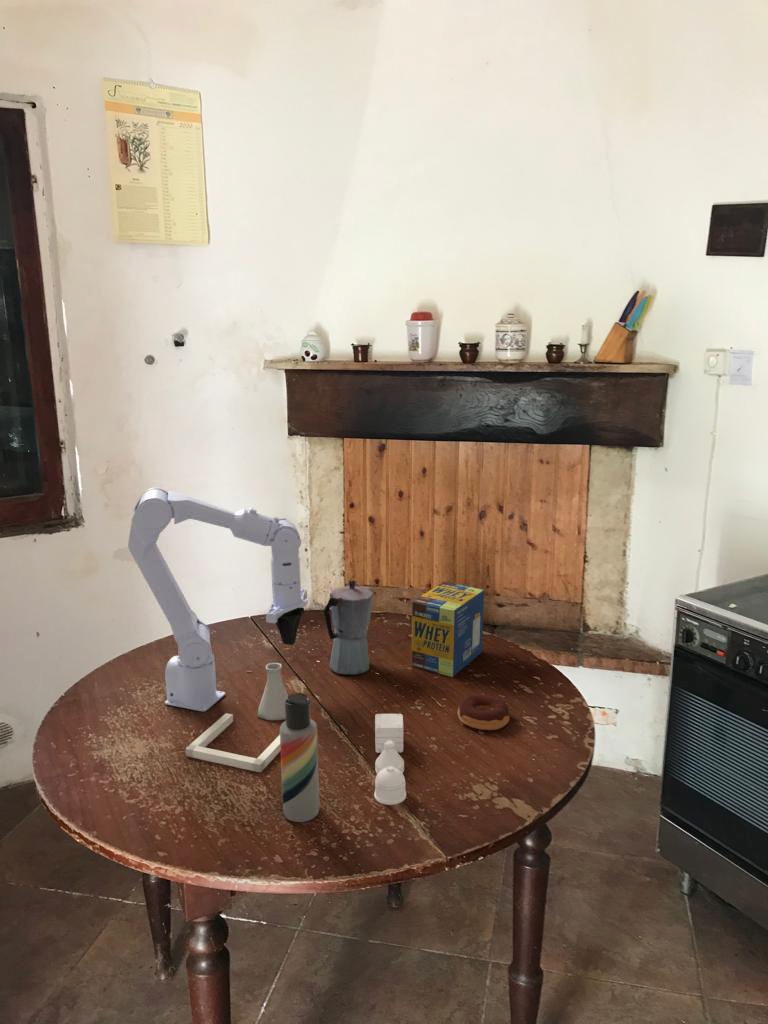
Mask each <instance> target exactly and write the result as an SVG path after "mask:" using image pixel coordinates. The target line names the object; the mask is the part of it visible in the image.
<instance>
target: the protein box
mask: <svg viewBox="0 0 768 1024" xmlns="http://www.w3.org/2000/svg"><path fill="white" fill-rule="evenodd" d="M484 600H485V589H481V588H477V587H472V586H467V585H462V584H458V583H452V582H448V581H443V582H440V583H439V584H438V585H437V586H435V587H432V589H430V590H428V591H427V592H425V593H424V594H422V595H420V596H419V597H417V598H416V599H413V600H412V601H411V667H415V668H417V669H421V670H424V671H425V670H426V671H428V672H432V673H435V674H436V673H437V674H440V675H443V676H448V677H451V678H453V677H454V676H455V675H457V674H458V673H459V672H460V671H461V670H463V669H464V668H465V667H466V666H468V665H469V664H470V663H471V662H472V661H473V660H475V659H476V658H477V657H478V656H479V655H481V654H482V653H483V635H484V634H483V633H484V605H485V604H484V602H485V601H484Z"/></svg>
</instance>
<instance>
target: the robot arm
mask: <svg viewBox="0 0 768 1024" xmlns="http://www.w3.org/2000/svg"><path fill="white" fill-rule="evenodd" d="M173 519H174V521H173V522H174V525H177V524H180V523H182V522H185V521H188V520H194V521H198V522H202V523H206V524H210V525H213V526H218V527H220V528H225V529H229V530H230V531H231V533H232V536H233V537H234V538H238V539H240V540H244V541H247V542H249V543H254V544H256V545H261V546H263V547H271V558H270V571H271V589H272V590H271V591H272V593H271V594H272V600H271V603H270V606H269V609H268V610H267V612H265V622H266V623H270V624H275V625H276V627H277V629H278V632H279V635H280V638H281V641H282V644H283V645H287V646H288V645H289V646H293V645H295V643H296V639H297V634H298V629H299V625H300V622H301V619H302V617H303V615H304V613H305V607H306V606H307V603H308V602H307V601H306V600H307V598H308V590H307V589H305V588H303V589H302V586H301V561H300V559H301V558H300V556H299V554H300V551H299V549H300V547H301V544H302V539H301V535H300V533H299V531H298V529H297V527H296V525H295V524H294V523H293V522H292V521H290V520H288V519H287V518H283V517H282V518H280V517H278V516H273V517H271V516H268V515H264V514H262V513H258V512H257V509H256V508H253V507H249V509H248V510H247V509H245V508H243V509H241V510H238V511H235V512H233V511H230V510H228V509H225V508H222V507H219V506H216V505H213V504H211V503H208V502H205V501H203V500H200V499H197V498H194V497H192V496H188V495H185V494H183V493H180V492H177V491H173V490H168V491H167V490H165V489H163V488H161V487H151V488H149V489H147V490H145V491H144V492H142V494H140V497H139V499H138V501H137V502H136V504H135V506H134V509H133V514H132V516H131V522H130V523H131V524H130V530H129V536H128V537H129V538H128V542H127V543H128V544H127V546H128V550H129V552H130V554H131V556H132V557H133V560H134V561H135V563H136V565H137V566H138V568H139V570H140V572H141V574H142V575H143V578H144V580H145V581H146V584H147V585H148V587H149V588H150V590H151V592H152V594H153V596H154V597H155V600H156V602H157V603H158V605H159V606H160V609H161V610H162V612H163V614H164V616H165V618H166V620H167V622H168V623H169V625H170V627H171V631H172V634H173V637H174V641H175V642H176V644H177V648H178V651H177V653H178V654H177V655H174V656H172V657H171V658H170V659H169V660H168V662H167V664H166V667H165V671H164V673H165V674H164V678H165V689H166V700H165V701H164V704H165V705H168V706H172V707H177V708H182V709H183V708H184V709H188V710H193V711H199V712H207V710H209V709H210V708H211V707H213V706H214V704H216V703H217V702H218V701H220V700H221V699H222V698H223V697H224V696H225V695H226V692H225V691H220V690H217V679H216V664H215V655H214V653H213V652H212V645H211V631H210V630H211V629H210V628H209V626H208V625H207V624H206V623H205V622H203V621H202V620H200V618H198V615H197V614H196V612H194V611H193V610H192V608H191V607H190V605H189V603H188V601H187V600H186V599H187V598H186V597H185V596H184V594H183V591H182V590H181V588H180V586H179V584H178V582H177V581H176V578H175V576H174V575H173V573H172V571H171V569H170V567H169V565H168V564H167V561H166V560H165V557H164V556H163V554H162V552H161V551H160V549H159V546H158V545H157V541H158V539H159V537H160V535H161V533H162V532H163V531H164V530H165V529H166V528H167V527H168V525H169V524H170V523H171V520H173Z"/></svg>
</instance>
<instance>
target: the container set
mask: <svg viewBox="0 0 768 1024" xmlns="http://www.w3.org/2000/svg"><path fill="white" fill-rule="evenodd" d="M403 718H404V717H403V714H401V713H376V714H375V718H374V724H375V725H374V730H375V731H374V734H375V735H374V739H375V744H374V745H375V746H374V748H375V750H374V751H375V752H376V753H377V754H379V753H380V754H379V756H378V757H377V758H376V760H375V762H374V763H375V764H374V765H375V766H374V768H375V772H376V777H375V781H374V785H375V789H374V793H373V795H374V799H375V800H376V801H377V802H378V803H380V804H382V805H383V804H384V805H387V806H388V805H389V806H392V805H393V806H394V805H398V804H400V803H402V802H404V801H405V799H406V798H407V790H406V779H405V778H406V777H405V776H404V774H403V773H404V771H405V760H404V759H403V758H402V756H401V755H400V754H399V753H403V752H404V719H403Z"/></svg>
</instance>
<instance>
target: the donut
mask: <svg viewBox="0 0 768 1024" xmlns="http://www.w3.org/2000/svg"><path fill="white" fill-rule="evenodd" d="M457 707H458V709H457V713H456V714H457V717H458V719H459V721H460V722H461V723H462V724H464V725H465V726H468V727H470V728H473V729H476V730H481V731H497V730H499V729H501V728H503V727H505V726H506V725H508V723H509V721H510V714H509V713H510V711H509V706H508V705H507V703H506V702H505V701H504V700H503V699H502V698H499V697H496V696H492V695H486V694H471V695H466V697H463V698H462V699H461V700H459V703H458V706H457Z"/></svg>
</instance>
